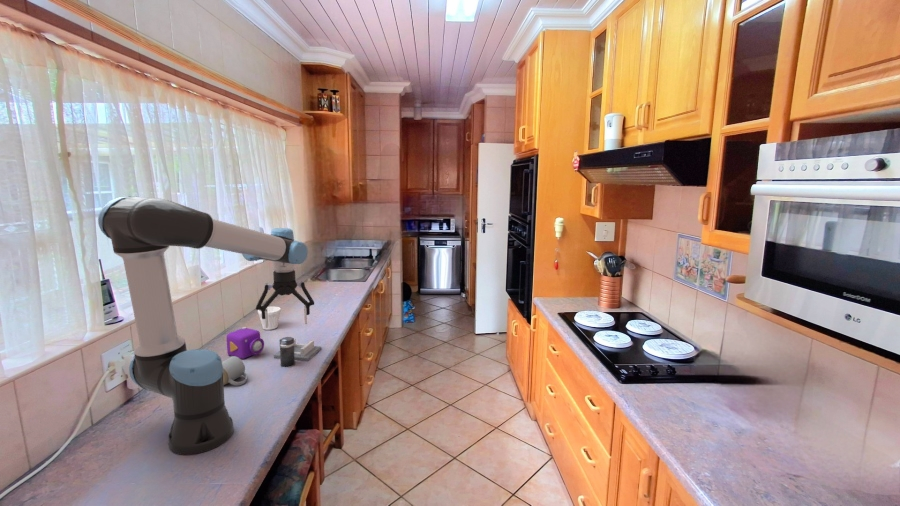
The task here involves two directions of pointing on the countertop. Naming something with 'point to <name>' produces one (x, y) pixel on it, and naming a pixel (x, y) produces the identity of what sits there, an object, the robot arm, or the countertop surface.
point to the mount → (303, 351)
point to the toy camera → (244, 343)
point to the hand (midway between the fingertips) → (286, 324)
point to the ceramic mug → (233, 370)
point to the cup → (271, 317)
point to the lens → (287, 352)
